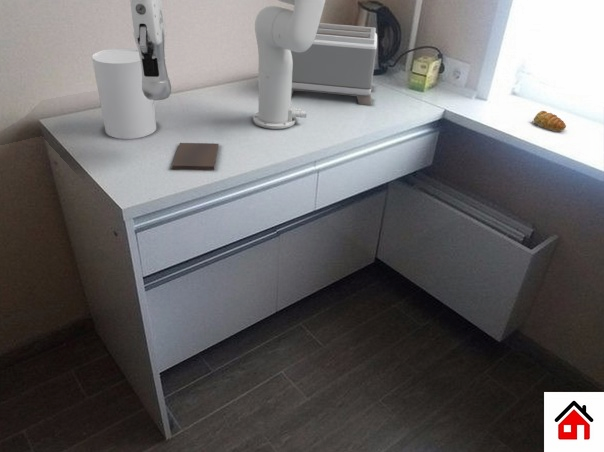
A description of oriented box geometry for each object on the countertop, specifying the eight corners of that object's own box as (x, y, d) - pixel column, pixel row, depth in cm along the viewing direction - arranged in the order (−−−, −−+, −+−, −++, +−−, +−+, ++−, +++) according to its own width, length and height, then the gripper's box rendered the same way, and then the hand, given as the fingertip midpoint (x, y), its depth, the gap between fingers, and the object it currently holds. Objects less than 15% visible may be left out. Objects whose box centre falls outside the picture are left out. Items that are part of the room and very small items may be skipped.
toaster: (279, 77, 181) (280, 18, 170) (372, 86, 178) (380, 27, 167) (268, 95, 165) (269, 31, 154) (371, 105, 162) (379, 41, 151)
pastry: (569, 130, 153) (573, 118, 151) (555, 134, 150) (559, 122, 148) (543, 119, 160) (547, 108, 157) (529, 123, 157) (533, 111, 154)
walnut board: (218, 146, 131) (218, 143, 130) (214, 170, 120) (213, 166, 120) (180, 146, 130) (180, 142, 130) (172, 169, 120) (172, 165, 119)
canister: (157, 136, 134) (148, 62, 123) (104, 140, 131) (90, 64, 119) (155, 117, 145) (146, 47, 134) (106, 120, 141) (93, 49, 130)
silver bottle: (178, 97, 117) (168, 6, 105) (157, 106, 112) (144, 12, 101) (159, 91, 120) (147, 2, 108) (137, 99, 115) (122, 7, 103)
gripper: (153, -8, 95) (164, 85, 105) (168, -22, 109) (177, 61, 119) (113, -9, 95) (128, 84, 105) (134, -24, 109) (145, 60, 119)
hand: (154, 71), depth 112 cm, fingers closed on silver bottle, 5 cm apart
